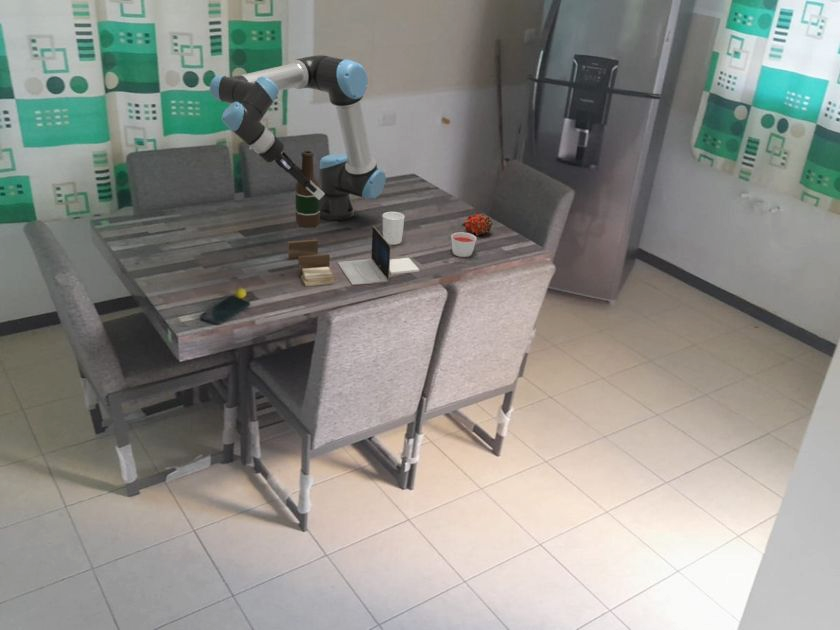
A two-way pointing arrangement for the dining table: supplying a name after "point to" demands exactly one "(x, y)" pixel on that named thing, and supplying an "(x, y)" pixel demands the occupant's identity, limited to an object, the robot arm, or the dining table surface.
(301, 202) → the beer bottle
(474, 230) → the dragon fruit
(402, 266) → the placing pad
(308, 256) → the bookends with books
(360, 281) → the laptop
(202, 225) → the dining table surface
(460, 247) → the cup of red liquid
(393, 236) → the white cup
